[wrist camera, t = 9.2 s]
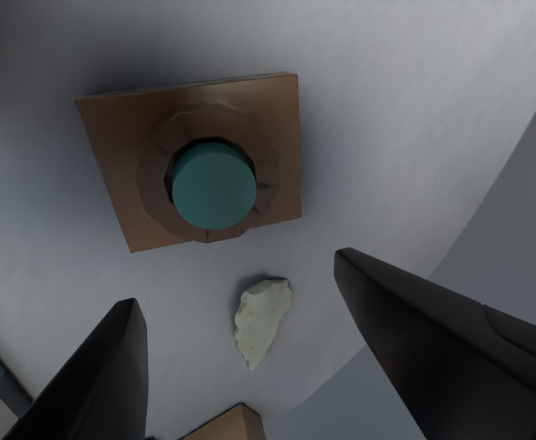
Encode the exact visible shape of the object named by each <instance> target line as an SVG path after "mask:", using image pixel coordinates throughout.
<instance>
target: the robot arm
mask: <svg viewBox="0 0 536 440" xmlns="http://www.w3.org/2000/svg"><path fill="white" fill-rule="evenodd" d="M334 278H335V281H336V283H337V286H338V288H339V290H340V292H341V294H342V296H343V298H344V300H345V302H346V304H347V307H348V309H349V311H350V313H351V315H352V317H353V319H354V321H355V323H356V325H357V327H358V329H359V331H360V333H361V334H362V336H363V338H364V339H365V341H366V343H367V344H368V346H369V347H370V349H371V350H372V352H373V354H374V355H375V357H376V359H377V360H378V362H379V364H380V365H381V367H382V368H383V369H384V372H385V373H386V375H387V376H388V378H389V380H390V381H391V383H392V384H393V386H394V388H395V389H396V391H397V393H398V394H399V396H400V397H401V399H402V401H403V402H404V404H405V405H406V407H407V409H408V410H409V412H410V414H411V415H412V417H413V418H414V420H415V421H416V423H417V425H418V426H419V428H420V430H421V431H422V433H423V435H424V436H425V438H426V439H427V440H536V325H533V324H530V323H528V322H525V321H523V320H521V319H518V318H515V317H513V316H511V315H508V314H506V313H503V312H501V311H499V310H496V309H494V308H492V307H489V306H487V305H482V304H481V303H480V302H477V301H475V300H472V299H470V298H468V297H465V296H463V295H461V294H459V293H456V292H454V291H452V290H449V289H447V288H445V287H442V286H440V285H437V284H435V283H433V282H430V281H428V280H426V279H423V278H421V277H419V276H416V275H414V274H412V273H409V272H407V271H405V270H402V269H400V268H398V267H395V266H393V265H391V264H388V263H386V262H384V261H381V260H379V259H376V258H374V257H372V256H369V255H367V254H365V253H362V252H360V251H358V250H355V249H353V248H350V247H348V248H343V249H339V250H337V251H336V252H335V256H334ZM147 404H148V348H147V326H146V322H145V319H144V316H143V314H142V311H141V309H140V306H139V304H138V301H137V300H136V299H135V298H130V299H125V300H121V301H118V302H117V303H116V304H115V305H114V306H113V307H112V308H111V309H110V311H109V312H108V313H107V314H106V315H105V317H104V318H103V319H102V320H101V321H100V323H99V324H98V325H97V326H96V327H95V329H94V330H93V331H92V332H91V333H90V335H89V336H88V337H87V338H86V339H85V340H84V342H83V343H82V344H81V345H80V346H79V348H78V349H77V350H76V351H75V352H74V354H73V355H72V356H71V357H70V358H69V360H68V361H67V362H66V363H65V364H64V366H63V367H62V368H61V369H60V370H59V372H58V373H57V374H56V375H55V376H54V378H53V379H52V380H51V381H50V382H49V384H48V385H47V386H46V387H45V388H44V390H43V391H42V392H41V393H40V394H39V395H38V397H37V398H36V399H35V400H34V401H33V403H32V404H31V405H30V406H29V407H28V409H27V410H26V411H25V412H24V413H23V415H22V416H21V417H20V418H19V419H18V421H17V422H16V423H15V424H14V425H13V427H12V428H11V429H10V430H9V431H8V433H7V434H6V435H5V436H4V437H3V439H2V440H144V437H145V426H146V415H147Z"/></svg>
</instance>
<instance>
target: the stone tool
mask: <svg viewBox="0 0 536 440" xmlns="http://www.w3.org/2000/svg"><path fill="white" fill-rule="evenodd" d="M292 298H293V290H292V289H291V288H290V287H289V286H288V281H287V280H278V279H275V280H263V281H261V282H259V283H257V284H255V285H253V286H252V287H250V288H249V289H247V290H245V291H244V292H243V294H242V296H241V303H240V307H239V309H238V311H237V312H236V314H235V319H234V323H235V324H236V326H237V327H236V330H235V332H234V337H235V338H236V348H237V349H238V351H239V352H241V354H242V355H243V357H244V359H245V361H246V365H247V366H248V368H249V369H250V370H252V371H254V370H255V369H256V368H257V366H258V365H259V363H260V362H261V361H262V360H263V358H264V356H265V354H266V352H267V350H268V348H269V346H270V344H271V342H272V341H273V339H274V337H275V335H276V332H277V328H278V324H279V322H280V320H281V318H282V317H283V316H284V314H285V313H286V311H287V310H288V309H289V307H290V306H291V301H292Z"/></svg>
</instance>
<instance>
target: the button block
mask: <svg viewBox="0 0 536 440" xmlns="http://www.w3.org/2000/svg"><path fill="white" fill-rule="evenodd" d="M75 103H76V106H77V109H78V112H79V114H80V117H81V120H82V122H83V125H84V128H85V130H86V133H87V136H88V139H89V141H90V144H91V147H92V149H93V152H94V155H95V158H96V160H97V163H98V166H99V168H100V171H101V174H102V176H103V179H104V182H105V185H106V187H107V190H108V193H109V195H110V198H111V201H112V203H113V206H114V209H115V212H116V214H117V217H118V220H119V222H120V225H121V228H122V231H123V233H124V236H125V239H126V241H127V244H128V247H129V249H130V252H131V253H134V252H139V251H144V250H148V249H153V248H158V247H163V246H168V245H172V244H177V243H182V242H187V241H192V240H194V241H198V242H203V243H212V242H216V241H221V240H226V239H230V238H235V237H239V236H240V235H242V234H243V233H244V232H246V231H247V230H248V229H250V228H254V227H259V226H264V225H269V224H273V223H278V222H283V221H288V220H293V219H298V218H302V201H301V169H300V136H299V104H298V75H297V74H295V73H290V72H279V73H271V74H262V75H253V76H245V77H236V78H227V79H218V80H210V81H201V82H192V83H184V84H175V85H166V86H158V87H149V88H140V89H132V90H123V91H114V92H106V93H97V94H88V95H84V96H82V97H80V98H78V99H76V100H75ZM204 142H217V143H222V144H225V145H228V146H230V147H231V148H233V149H235V150H236V151H237V152H238V153H239V154H240V155H241V156H242V158H243V159H244V161H245V162H246V164H247V165H248V167H249V168H250V170H251V172H252V174H253V176H254V178H255V182H256V197H255V201H254V204H253V206H252V208H251V210H250V211H249V212H248V214H247V215H246V216H245V217H244V218H243V219H242V220H241V221H239V222H238V223H236V224H234V225H232V226H230V227H227V228H223V229H217V230H210V229H203V228H199V227H197V226H194V225H192V224H191V223H189V222H188V221H186V220H185V219H184V218H183V217H182V216H181V215H180V214H179V212H178V211H177V209H176V207H175V205H174V202H173V197H172V174H173V169H174V166H175V164H176V162H177V160H178V158H179V157H180V156H181V155H182V154H183V153H184V152H185V151H186V150H187V149H189V148H190V147H192V146H194V145H197V144H200V143H204Z"/></svg>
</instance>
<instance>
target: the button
mask: <svg viewBox="0 0 536 440" xmlns="http://www.w3.org/2000/svg"><path fill="white" fill-rule="evenodd" d="M172 197H173V202H174V205H175V207H176V209H177V211H178V212H179V214H180V215H181V216H182V217H183V218H184V219H185V220H186V221H188V222H189V223H191V224H192V225H194V226H197V227H199V228H203V229H210V230H217V229H223V228H227V227H230V226H232V225H234V224H236V223H238V222H239V221H241V220H242V219H243V218H244V217H245V216H246V215H247V214H248V212H249V211H250V210H251V208H252V206H253V204H254V201H255V197H256V182H255V178H254V176H253V174H252V172H251V170H250V168H249V167H248V165H247V164H246V162H245V161H244V159H243V158H242V156H241V155H240V154H239V153H238V152H237V151H236V150H235V149H233V148H231V147H230V146H228V145H225V144H222V143H217V142H204V143H200V144H197V145H194V146H192V147H190V148H189V149H187V150H186V151H185V152H184V153H183V154H182V155H181V156H180V157H179V158H178V160H177V162H176V164H175V166H174V169H173V174H172Z"/></svg>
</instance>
